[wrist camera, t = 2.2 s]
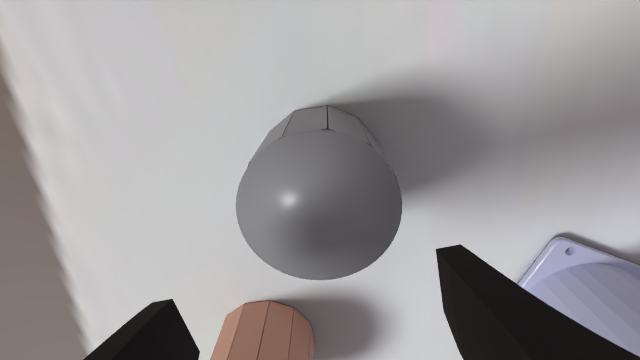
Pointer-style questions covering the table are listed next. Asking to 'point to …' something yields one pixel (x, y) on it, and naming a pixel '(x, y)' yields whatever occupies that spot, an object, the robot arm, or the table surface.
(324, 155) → the gray domed cylinder
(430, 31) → the table surface
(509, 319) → the robot arm
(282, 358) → the peach domed cylinder
